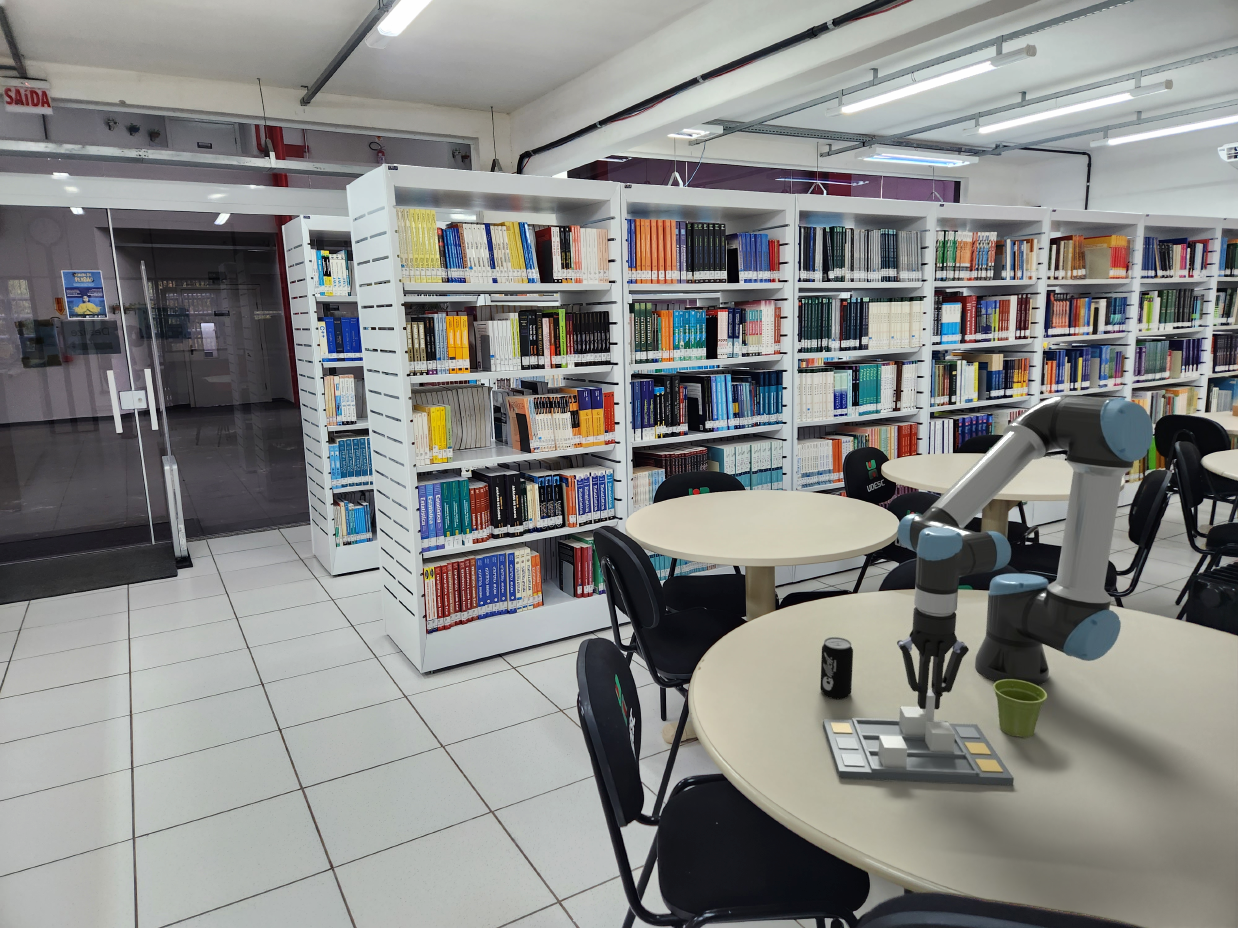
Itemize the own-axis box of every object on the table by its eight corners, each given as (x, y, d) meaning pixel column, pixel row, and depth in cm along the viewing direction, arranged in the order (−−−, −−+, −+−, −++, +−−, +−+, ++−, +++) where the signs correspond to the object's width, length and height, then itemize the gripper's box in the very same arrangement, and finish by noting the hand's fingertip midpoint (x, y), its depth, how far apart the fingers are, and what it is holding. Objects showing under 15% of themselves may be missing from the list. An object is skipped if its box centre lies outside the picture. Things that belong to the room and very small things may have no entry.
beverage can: (852, 701, 165) (854, 649, 162) (821, 699, 166) (822, 647, 164) (849, 687, 171) (852, 637, 169) (819, 685, 172) (821, 635, 170)
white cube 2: (946, 741, 146) (948, 722, 145) (953, 753, 142) (955, 733, 141) (925, 740, 146) (926, 721, 146) (931, 752, 142) (932, 732, 142)
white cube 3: (900, 755, 142) (901, 736, 141) (906, 768, 138) (907, 748, 137) (878, 754, 142) (879, 735, 141) (883, 767, 138) (884, 747, 137)
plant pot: (1022, 747, 146) (1026, 706, 145) (979, 725, 155) (983, 685, 153) (1053, 735, 151) (1057, 694, 149) (1010, 713, 159) (1013, 675, 157)
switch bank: (976, 731, 152) (977, 721, 152) (1013, 785, 135) (1014, 774, 134) (822, 725, 155) (823, 716, 155) (839, 778, 138) (839, 767, 137)
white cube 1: (919, 725, 152) (920, 706, 151) (925, 736, 148) (926, 717, 147) (898, 724, 152) (900, 706, 151) (904, 735, 148) (905, 716, 148)
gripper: (963, 602, 148) (955, 714, 152) (894, 601, 149) (888, 712, 154) (977, 617, 141) (968, 734, 145) (905, 615, 142) (898, 732, 146)
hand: (927, 723), depth 149 cm, fingers closed
